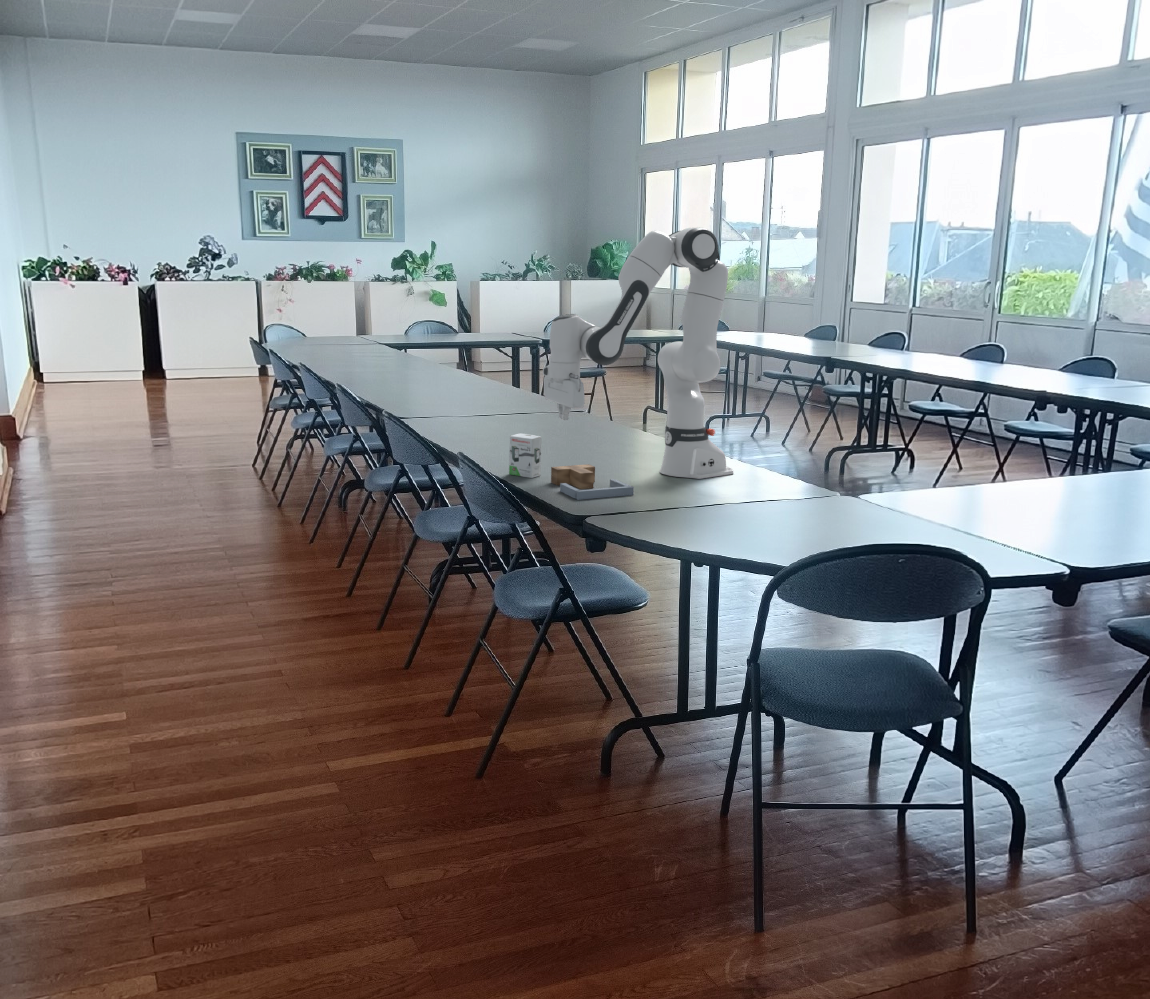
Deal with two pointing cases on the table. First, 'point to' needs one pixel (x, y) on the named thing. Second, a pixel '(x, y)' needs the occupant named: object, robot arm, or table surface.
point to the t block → (574, 475)
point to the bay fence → (598, 491)
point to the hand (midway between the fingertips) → (563, 419)
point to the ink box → (525, 455)
